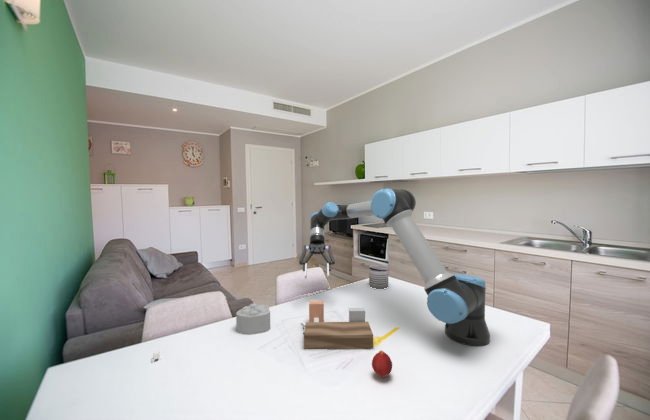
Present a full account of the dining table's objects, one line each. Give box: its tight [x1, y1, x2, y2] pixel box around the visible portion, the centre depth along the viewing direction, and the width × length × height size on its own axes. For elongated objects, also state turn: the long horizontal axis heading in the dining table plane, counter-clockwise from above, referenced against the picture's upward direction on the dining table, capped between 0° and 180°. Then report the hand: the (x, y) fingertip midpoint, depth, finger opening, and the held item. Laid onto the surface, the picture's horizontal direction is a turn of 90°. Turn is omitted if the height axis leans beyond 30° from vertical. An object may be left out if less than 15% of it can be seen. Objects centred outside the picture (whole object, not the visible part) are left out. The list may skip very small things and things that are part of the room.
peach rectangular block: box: [308, 300, 325, 322], centre depth 107 cm, size 12×6×8 cm, turn 1°
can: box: [368, 265, 390, 290], centre depth 158 cm, size 11×11×12 cm
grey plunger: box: [348, 307, 366, 322], centre depth 101 cm, size 12×6×8 cm, turn 1°
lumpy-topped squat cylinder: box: [235, 302, 271, 336], centre depth 108 cm, size 10×13×9 cm
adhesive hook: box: [150, 350, 163, 364], centre depth 87 cm, size 3×3×3 cm
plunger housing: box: [303, 321, 374, 350], centre depth 98 cm, size 10×24×5 cm, turn 91°
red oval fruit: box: [371, 349, 393, 378], centre depth 79 cm, size 6×6×8 cm
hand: (316, 276), depth 124 cm, fingers open, 10 cm apart
